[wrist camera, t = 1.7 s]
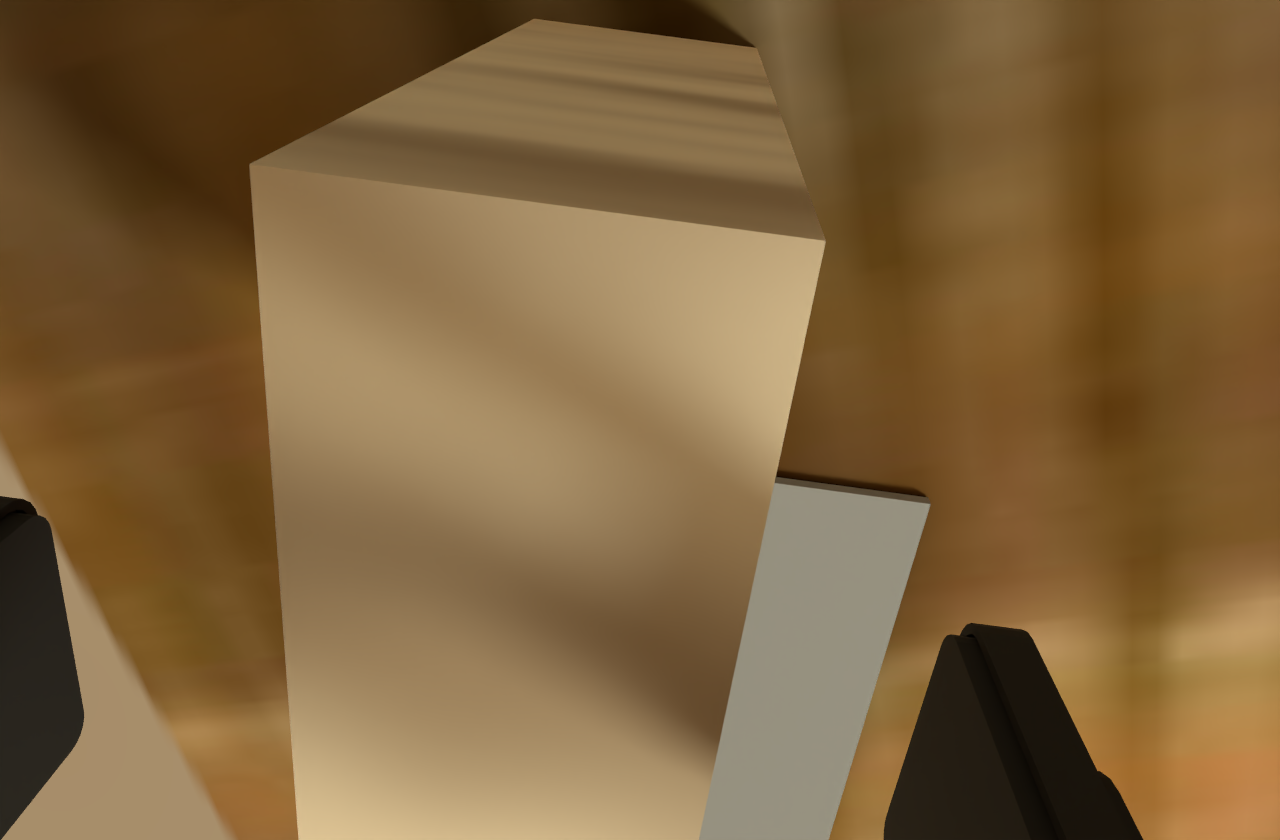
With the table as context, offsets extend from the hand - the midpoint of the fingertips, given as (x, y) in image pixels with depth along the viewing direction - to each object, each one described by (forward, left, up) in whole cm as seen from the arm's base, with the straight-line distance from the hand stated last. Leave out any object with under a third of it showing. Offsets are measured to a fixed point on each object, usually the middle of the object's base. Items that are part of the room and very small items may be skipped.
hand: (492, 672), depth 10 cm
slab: (-1, 0, -13) cm, 12 cm away
